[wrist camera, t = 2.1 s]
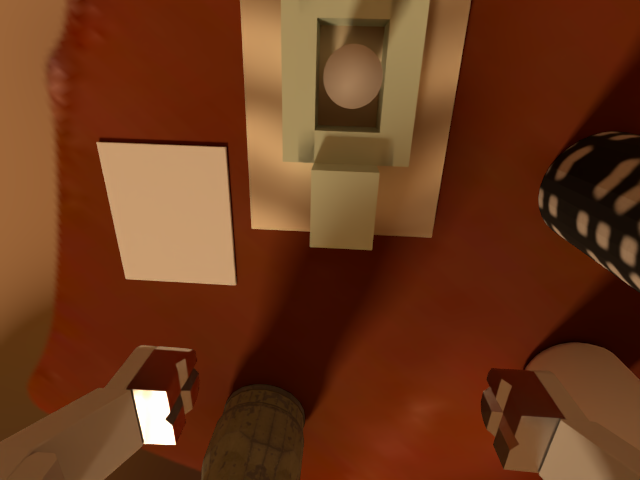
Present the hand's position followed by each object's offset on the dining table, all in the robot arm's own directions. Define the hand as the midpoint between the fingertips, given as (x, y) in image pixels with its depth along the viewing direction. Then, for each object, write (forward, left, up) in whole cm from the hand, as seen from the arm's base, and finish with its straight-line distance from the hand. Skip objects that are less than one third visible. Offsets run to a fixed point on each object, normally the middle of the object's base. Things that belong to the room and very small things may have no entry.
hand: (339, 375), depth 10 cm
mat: (+3, -14, -20) cm, 24 cm away
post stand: (-6, 0, -20) cm, 21 cm away
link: (-5, 0, -18) cm, 19 cm away
